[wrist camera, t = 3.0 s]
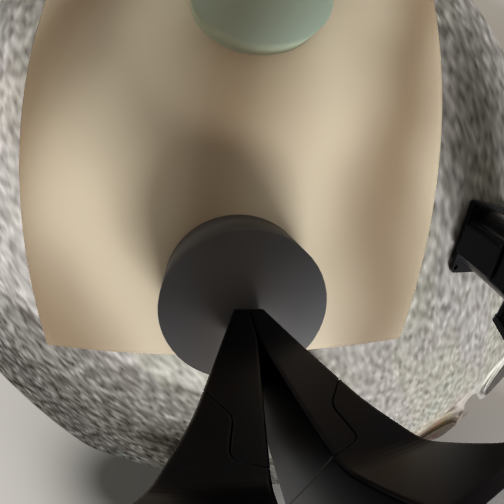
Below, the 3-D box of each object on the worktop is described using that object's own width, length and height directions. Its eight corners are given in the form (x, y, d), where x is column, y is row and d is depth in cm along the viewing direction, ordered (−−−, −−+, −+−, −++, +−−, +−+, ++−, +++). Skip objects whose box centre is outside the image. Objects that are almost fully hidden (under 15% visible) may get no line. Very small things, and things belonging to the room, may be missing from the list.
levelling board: (412, -12, 8) (454, -33, 5) (385, 322, 14) (422, 360, 11) (84, -51, 6) (61, -88, 2) (59, 326, 11) (29, 373, 8)
